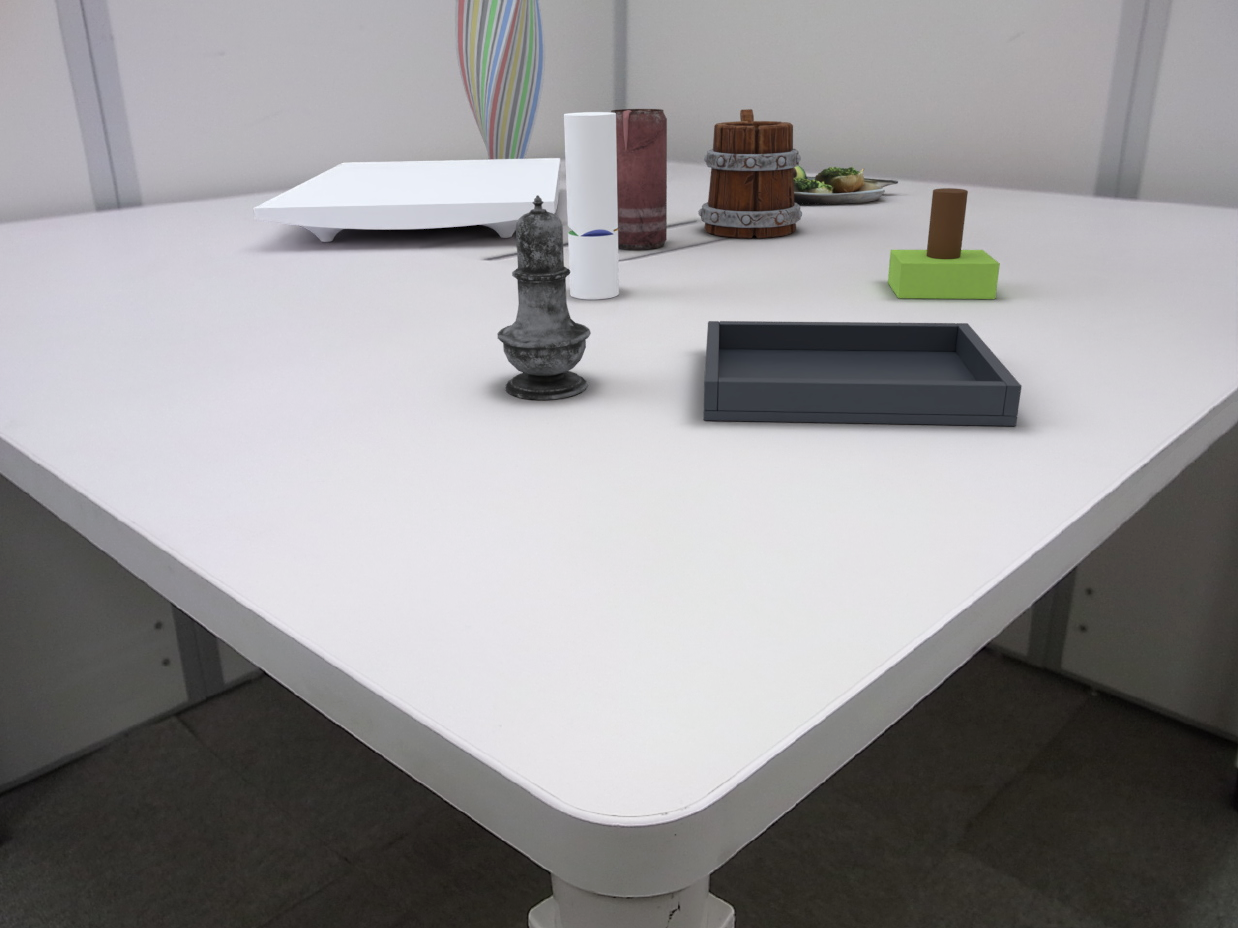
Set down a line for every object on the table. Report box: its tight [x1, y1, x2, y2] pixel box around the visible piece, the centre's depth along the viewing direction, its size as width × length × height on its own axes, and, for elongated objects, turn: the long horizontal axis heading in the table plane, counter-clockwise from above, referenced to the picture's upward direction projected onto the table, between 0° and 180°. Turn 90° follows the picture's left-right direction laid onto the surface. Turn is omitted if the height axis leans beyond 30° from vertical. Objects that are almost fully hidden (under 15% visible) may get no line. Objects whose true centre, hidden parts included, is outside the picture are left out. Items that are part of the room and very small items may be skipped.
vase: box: [454, 0, 546, 160], centre depth 160 cm, size 14×14×30 cm
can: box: [610, 108, 668, 251], centre depth 107 cm, size 6×6×14 cm
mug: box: [697, 108, 803, 239], centre depth 116 cm, size 12×14×15 cm
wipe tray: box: [703, 320, 1022, 427], centre depth 64 cm, size 18×14×2 cm
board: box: [252, 157, 562, 243], centre depth 130 cm, size 45×32×5 cm
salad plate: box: [793, 164, 899, 206], centre depth 141 cm, size 19×18×5 cm
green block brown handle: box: [887, 187, 1001, 300], centre depth 86 cm, size 8×6×8 cm
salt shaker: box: [497, 195, 592, 401], centre depth 63 cm, size 6×6×12 cm
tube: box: [563, 111, 620, 300], centre depth 86 cm, size 4×4×15 cm
